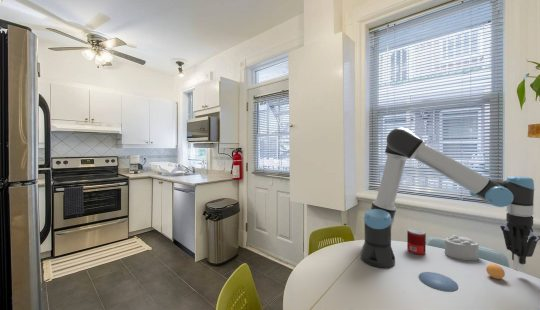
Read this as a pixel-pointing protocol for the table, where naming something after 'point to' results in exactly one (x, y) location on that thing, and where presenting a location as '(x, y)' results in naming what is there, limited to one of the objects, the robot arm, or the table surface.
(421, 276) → the disc
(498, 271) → the ball
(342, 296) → the table surface
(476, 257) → the lumpy-topped squat cylinder
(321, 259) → the table surface
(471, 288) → the table surface
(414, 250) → the canned food
